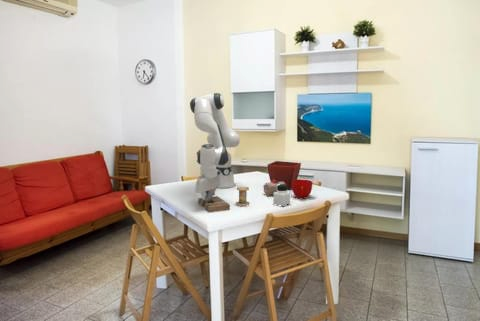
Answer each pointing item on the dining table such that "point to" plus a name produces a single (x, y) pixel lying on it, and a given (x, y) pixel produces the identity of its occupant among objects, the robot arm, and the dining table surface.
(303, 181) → the ceramic cup
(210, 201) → the gold lidded spice jar
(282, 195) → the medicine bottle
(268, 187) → the food item
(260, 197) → the dining table surface
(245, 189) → the tan spool
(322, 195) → the dining table surface
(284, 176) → the plant pot
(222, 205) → the notch board
